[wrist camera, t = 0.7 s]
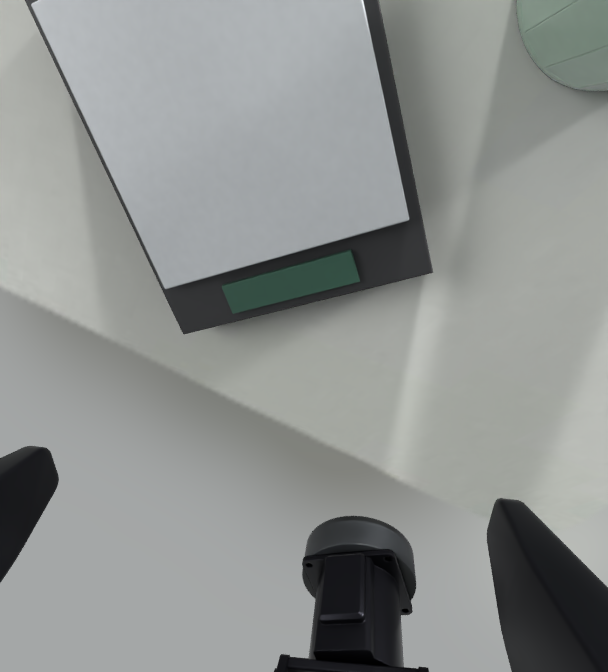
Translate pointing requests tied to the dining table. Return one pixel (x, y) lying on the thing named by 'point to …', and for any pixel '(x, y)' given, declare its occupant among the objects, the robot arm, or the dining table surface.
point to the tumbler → (567, 40)
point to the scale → (246, 145)
